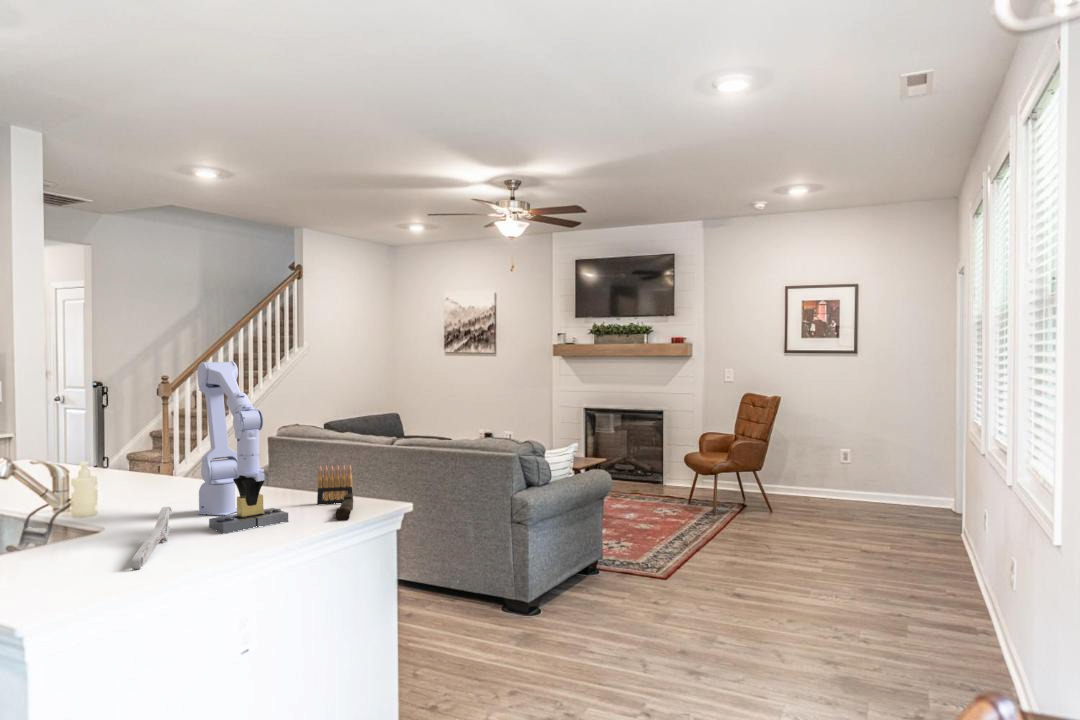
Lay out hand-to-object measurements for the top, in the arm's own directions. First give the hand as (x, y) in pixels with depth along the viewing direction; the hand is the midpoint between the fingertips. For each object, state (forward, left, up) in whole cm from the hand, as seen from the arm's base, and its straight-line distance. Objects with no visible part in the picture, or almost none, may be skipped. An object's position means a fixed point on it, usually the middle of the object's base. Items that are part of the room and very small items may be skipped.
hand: (249, 504), depth 205 cm
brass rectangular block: (0, 0, -3) cm, 3 cm away
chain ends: (0, 0, -6) cm, 6 cm away
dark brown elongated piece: (+18, +19, -6) cm, 27 cm away
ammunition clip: (+9, +30, -6) cm, 32 cm away
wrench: (-6, -28, -6) cm, 30 cm away
